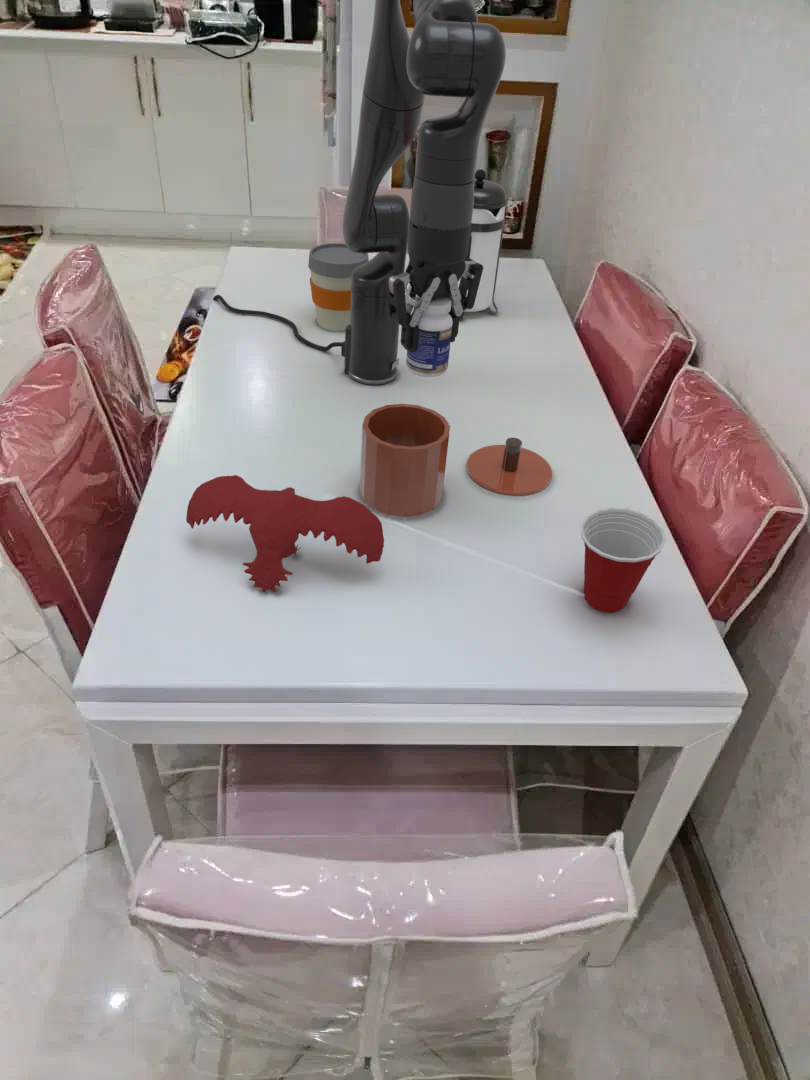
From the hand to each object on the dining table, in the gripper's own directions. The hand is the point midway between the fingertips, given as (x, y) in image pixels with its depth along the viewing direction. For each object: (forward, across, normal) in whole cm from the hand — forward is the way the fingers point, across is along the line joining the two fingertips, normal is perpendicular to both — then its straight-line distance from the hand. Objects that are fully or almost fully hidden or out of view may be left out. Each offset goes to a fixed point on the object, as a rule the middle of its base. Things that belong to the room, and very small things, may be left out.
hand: (428, 344), depth 108 cm
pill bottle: (+4, 0, 0) cm, 4 cm away
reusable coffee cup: (+28, -24, -62) cm, 72 cm away
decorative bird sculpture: (+27, +24, +2) cm, 36 cm away
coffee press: (+28, -53, -57) cm, 83 cm away
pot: (+27, 0, -3) cm, 27 cm away
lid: (+26, -19, +1) cm, 32 cm away
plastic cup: (+27, -10, +31) cm, 42 cm away
